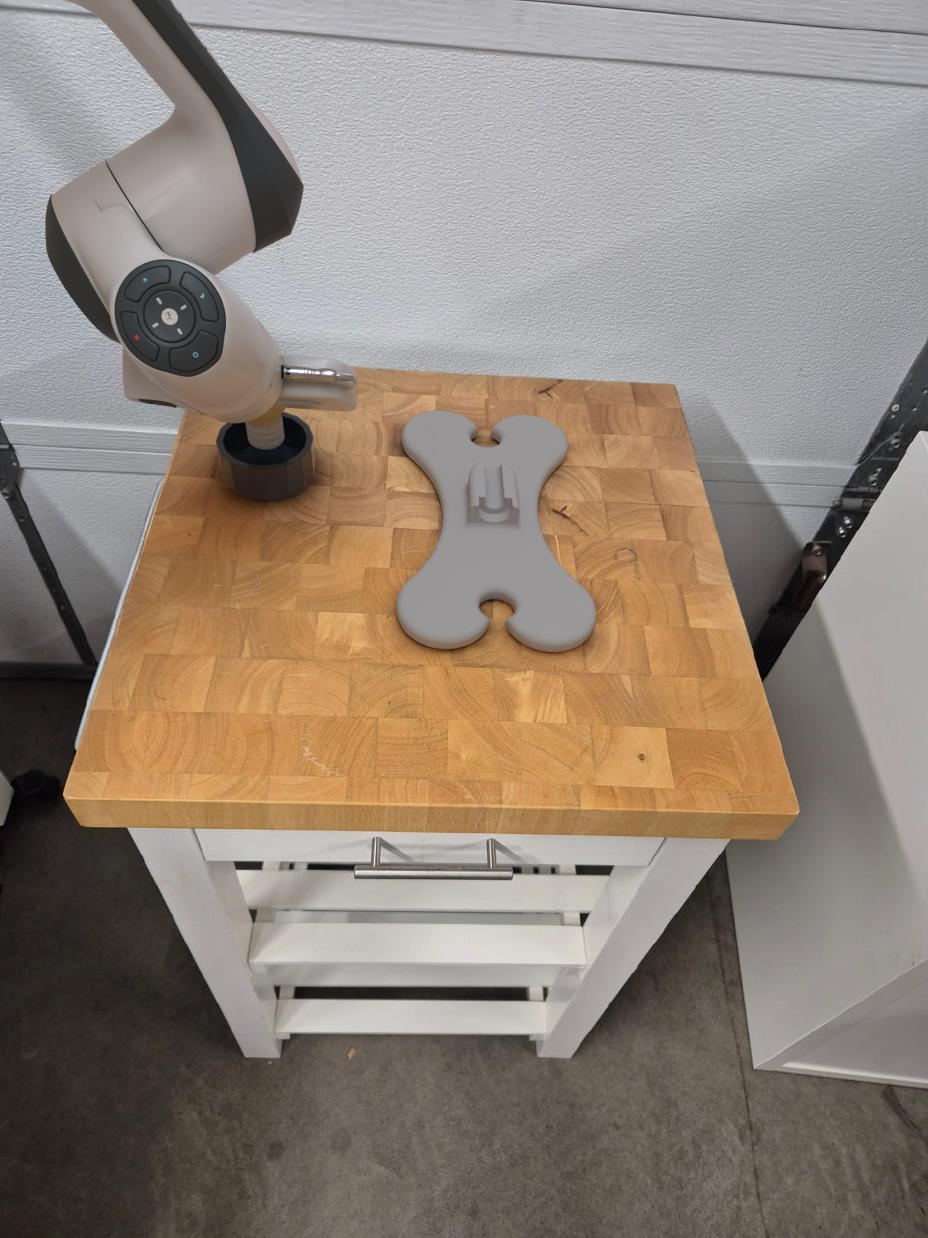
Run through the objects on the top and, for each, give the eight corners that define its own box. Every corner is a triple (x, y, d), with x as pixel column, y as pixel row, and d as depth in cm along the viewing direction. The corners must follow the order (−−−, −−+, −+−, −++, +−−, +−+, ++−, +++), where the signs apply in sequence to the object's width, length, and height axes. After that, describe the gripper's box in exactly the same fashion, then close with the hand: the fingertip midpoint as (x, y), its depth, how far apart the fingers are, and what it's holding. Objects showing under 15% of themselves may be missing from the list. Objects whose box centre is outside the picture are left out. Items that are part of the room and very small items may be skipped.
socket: (214, 499, 85) (207, 465, 82) (232, 439, 91) (226, 406, 88) (308, 505, 86) (306, 472, 82) (320, 445, 92) (318, 413, 88)
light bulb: (239, 422, 87) (225, 338, 79) (299, 423, 88) (291, 340, 80) (232, 461, 83) (216, 377, 75) (295, 462, 84) (286, 379, 76)
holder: (561, 427, 98) (569, 392, 94) (599, 656, 76) (611, 623, 72) (402, 419, 96) (403, 383, 92) (395, 651, 75) (395, 616, 71)
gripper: (355, 337, 68) (366, 370, 82) (106, 318, 67) (160, 355, 81) (351, 414, 69) (363, 434, 83) (104, 397, 68) (158, 420, 81)
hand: (261, 395), depth 82 cm, fingers closed on light bulb, 6 cm apart
